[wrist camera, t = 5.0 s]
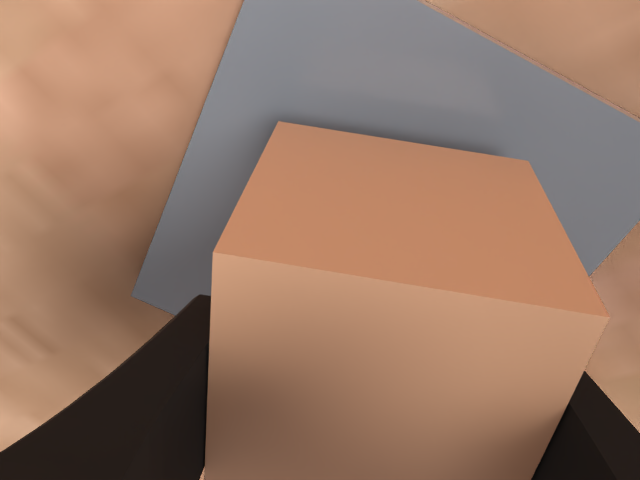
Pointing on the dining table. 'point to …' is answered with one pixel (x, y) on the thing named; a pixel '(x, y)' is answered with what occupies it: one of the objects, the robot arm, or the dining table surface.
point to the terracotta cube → (391, 315)
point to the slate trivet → (389, 121)
